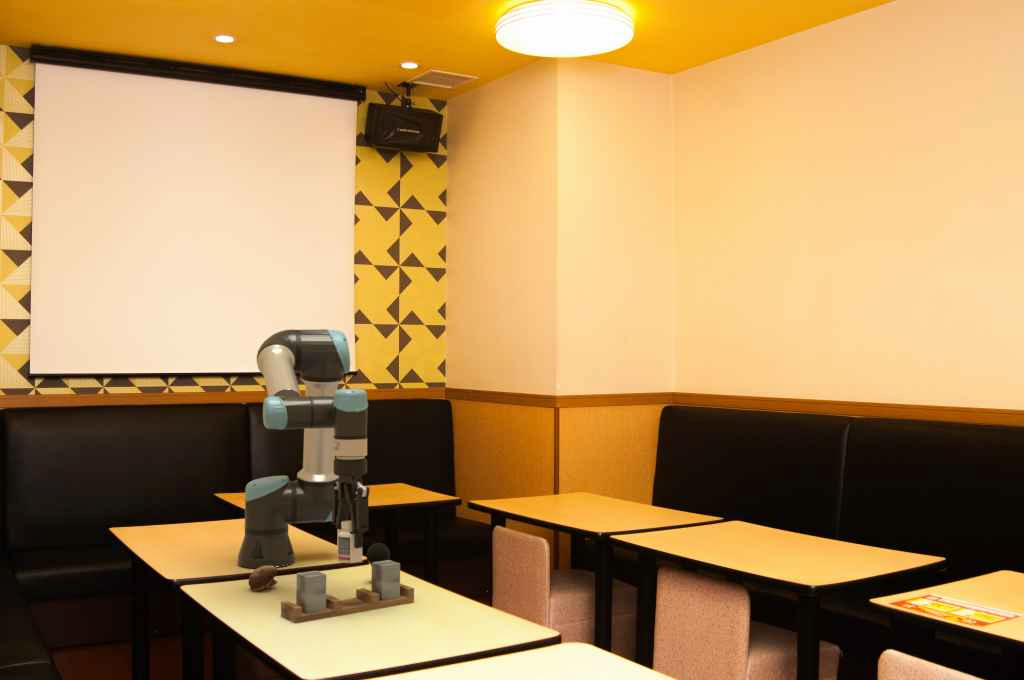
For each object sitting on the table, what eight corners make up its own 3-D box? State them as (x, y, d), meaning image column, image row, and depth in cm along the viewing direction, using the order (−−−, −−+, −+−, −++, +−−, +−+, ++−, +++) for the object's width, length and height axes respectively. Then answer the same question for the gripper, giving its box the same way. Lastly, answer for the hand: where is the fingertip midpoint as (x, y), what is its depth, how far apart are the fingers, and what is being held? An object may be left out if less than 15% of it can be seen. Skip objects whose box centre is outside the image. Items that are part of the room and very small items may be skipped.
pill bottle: (356, 563, 225) (356, 524, 225) (334, 562, 226) (334, 523, 226) (364, 559, 230) (365, 520, 230) (343, 558, 231) (343, 519, 231)
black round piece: (388, 585, 250) (388, 545, 250) (364, 585, 251) (364, 545, 251) (391, 580, 256) (391, 540, 256) (368, 580, 256) (368, 540, 256)
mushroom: (289, 572, 250) (274, 554, 248) (279, 592, 242) (264, 573, 241) (264, 585, 252) (249, 567, 250) (254, 605, 245) (238, 586, 243)
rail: (280, 616, 222) (281, 574, 222) (397, 595, 240) (398, 557, 240) (295, 623, 216) (295, 580, 216) (413, 602, 235) (414, 562, 235)
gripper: (316, 454, 233) (316, 555, 233) (355, 462, 219) (354, 569, 219) (345, 452, 238) (344, 551, 238) (385, 459, 223) (384, 564, 223)
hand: (349, 559), depth 228 cm, fingers closed on pill bottle, 5 cm apart
